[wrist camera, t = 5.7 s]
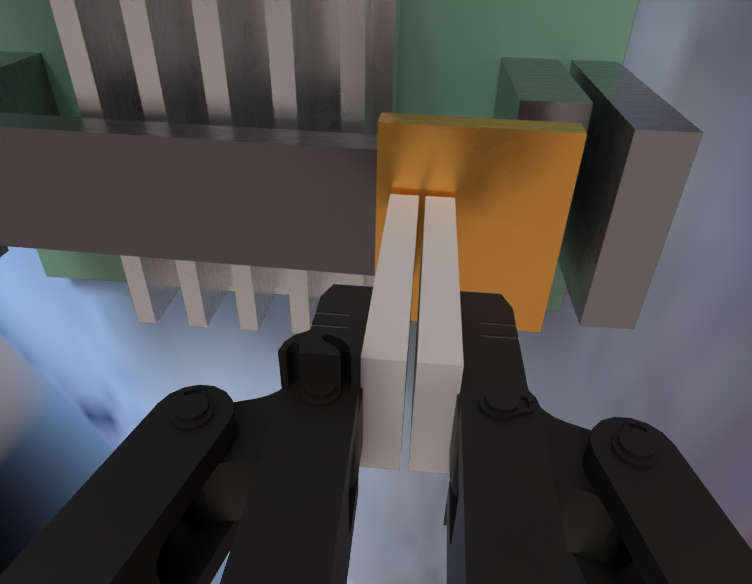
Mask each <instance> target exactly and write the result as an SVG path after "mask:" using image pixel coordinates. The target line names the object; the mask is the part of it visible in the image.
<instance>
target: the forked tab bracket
mask: <svg viewBox="0 0 752 584" xmlns="http://www.w3.org/2000/svg"><path fill="white" fill-rule="evenodd" d="M0 113H13V114H30V115H47V116H60V114H59V111H58V108H57V104H56V101H55V98H54V94H53V91H52V87H51V84H50V81H49V77H48V74H47V71H46V67H45V64H44V61H43V57H42V54H41V53H34V52H10V51H0ZM8 251H9V250H8V247H7V246H0V257H1V256H2V255H4V254H5V253H6V252H8Z"/></svg>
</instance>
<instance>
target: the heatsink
mask: <svg viewBox="0 0 752 584" xmlns="http://www.w3.org/2000/svg"><path fill="white" fill-rule="evenodd" d="M49 1H50V4H51V8H52V11H53V15H54V19H55V22H56V26H57V29H58V33H59V37H60V40H61V44H62V47H63V51H64V55H65V58H66V62H67V66H68V69H69V73H70V76H71V80H72V84H73V87H74V91H75V94H76V98H77V102H78V105H79V109H80V112H81V116H82V118H99V119H116V120H133V121H150V122H167V123H184V124H201V125H218V126H235V127H252V128H269V129H286V130H303V131H320V132H337V133H354V134H371V135H378V120H379V118H380V115H381V112H385V113H396V111H397V86H398V60H399V35H400V9H401V0H49ZM120 257H121V260H122V264H123V268H124V271H125V275H126V278H127V282H128V286H129V289H130V293H131V296H132V300H133V304H134V307H135V311H136V315H137V318H138V322H142V323H157V322H158V320H159V319H160V317H161V316H162V314H163V313H164V312H165V310H166V309H167V307H168V306H169V304H170V303H171V301H172V300H173V298H174V297H175V295H176V294H177V292H178V291H179V290H180V288H181V290H182V295H183V299H184V304H185V309H186V313H187V318H188V323H189V326H197V327H207V326H208V325H209V323H210V321H211V319H212V317H213V316H214V314H215V312H216V310H217V308H218V307H219V305H220V303H221V301H222V299H223V298H224V296H225V294H226V292H227V291H235V297H236V304H237V310H238V317H239V324H240V330H253V331H259V328H260V326H261V324H262V321H263V319H264V317H265V314H266V312H267V310H268V307H269V305H270V303H271V300H272V298H273V296H274V294H283V295H289V301H290V313H291V325H292V333H294V334H298V333H302V332H305V331H308V330H310V328H311V326H312V322H313V319H314V315H315V314H316V309H317V306H318V303H319V299H320V296H321V295H322V294H324V293H325V292H326V291H327V290H328V289H329V288H330V287H331V286H332V285H333V284H341V285H355V286H370V287H374V281H375V276H368V275H356V274H344V273H331V272H319V271H307V270H294V269H282V268H270V267H258V266H245V265H233V264H221V263H208V262H196V261H184V260H171V259H159V258H147V257H134V256H122V255H120Z"/></svg>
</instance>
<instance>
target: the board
mask: <svg viewBox="0 0 752 584" xmlns="http://www.w3.org/2000/svg"><path fill="white" fill-rule="evenodd" d="M638 2H639V0H401V9H400V35H399V60H398V86H397V111H396V113H403V114H422V115H440V116H458V117H476V118H493V113H494V106H495V99H496V91H497V84H498V77H499V69H500V62H501V57H516V58H541V59H558V60H559V61H560V63H561V64H562V65H563V66H564V68H565V69H566V70H567V71H568V73H569V71H570V66H571V61H572V60H593V61H618V62H619V63H620V64H621V65H623V61H624V57H625V53H626V49H627V45H628V41H629V37H630V33H631V29H632V25H633V21H634V18H635V14H636V10H637V6H638ZM0 51H10V52H34V53H41V54H42V57H43V61H44V64H45V67H46V71H47V74H48V77H49V81H50V84H51V87H52V91H53V94H54V98H55V101H56V104H57V108H58V111H59V114H60V116H64V117H82V116H81V112H80V109H79V105H78V102H77V98H76V94H75V91H74V87H73V84H72V80H71V76H70V73H69V69H68V66H67V62H66V58H65V55H64V51H63V47H62V44H61V40H60V37H59V33H58V29H57V26H56V22H55V19H54V15H53V11H52V8H51V4H50V1H49V0H0ZM37 251H38V254H39V257H40V259H41V262H42V265H43V267H44V270H45V273H46V275H47V276H48V277H62V278H77V279H92V280H107V281H122V282H127V278H126V275H125V271H124V268H123V264H122V260H121V257H120V255H110V254H97V253H85V252H73V251H61V250H48V249H37ZM565 290H566V284H565V281H564V278H563V275H562V272H561V269H560V266H559V263H558V260H557V265H556V269H555V273H554V277H553V282H552V286H551V290H550V294H549V299H548V303H547V307H546V310H551V311H560V310H561V306H562V302H563V298H564V294H565Z"/></svg>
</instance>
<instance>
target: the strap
mask: <svg viewBox="0 0 752 584" xmlns="http://www.w3.org/2000/svg"><path fill="white" fill-rule="evenodd" d="M586 137H587V132H586V131H585V129H584V127H583V126H582V124H581V123H567V122H549V121H531V120H512V119H494V118H476V117H458V116H440V115H422V114H403V113H385V112H381V115H380V118H379V120H378V135H371V134H354V133H337V132H320V131H303V130H286V129H269V128H252V127H235V126H218V125H201V124H184V123H167V122H150V121H133V120H116V119H99V118H82V117H64V116H47V115H30V114H13V113H0V246H11V247H24V248H36V249H48V250H61V251H73V252H85V253H97V254H110V255H122V256H134V257H147V258H159V259H171V260H184V261H196V262H208V263H221V264H233V265H245V266H258V267H270V268H282V269H294V270H307V271H319V272H331V273H344V274H356V275H368V276H375V275H376V270H377V264H378V259H379V253H380V248H381V242H382V236H383V231H384V225H385V220H386V214H387V209H388V203H389V197H390V194H398V195H416V196H419V204H418V219H417V234H416V249H415V264H414V279H413V293H412V307H411V321H416V322H417V313H418V296H419V279H420V266H421V252H422V239H423V225H424V212H425V198H426V196H434V197H451V198H455V209H456V228H457V247H458V267H459V286H460V291H467V292H481V293H496V294H501V295H502V296H503V297H504V298H505V299H506V301H507V302H508V303H509V304H510V305H511V307H512V308H513V312H514V317H515V323H516V328H517V330H518V331H530V332H541V328H542V324H543V320H544V316H545V311H546V307H547V303H548V299H549V294H550V290H551V286H552V282H553V277H554V273H555V269H556V265H557V260H558V256H559V252H560V248H561V243H562V239H563V235H564V231H565V226H566V222H567V218H568V214H569V209H570V205H571V201H572V197H573V192H574V188H575V184H576V180H577V175H578V171H579V167H580V163H581V158H582V154H583V150H584V146H585V141H586Z"/></svg>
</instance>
